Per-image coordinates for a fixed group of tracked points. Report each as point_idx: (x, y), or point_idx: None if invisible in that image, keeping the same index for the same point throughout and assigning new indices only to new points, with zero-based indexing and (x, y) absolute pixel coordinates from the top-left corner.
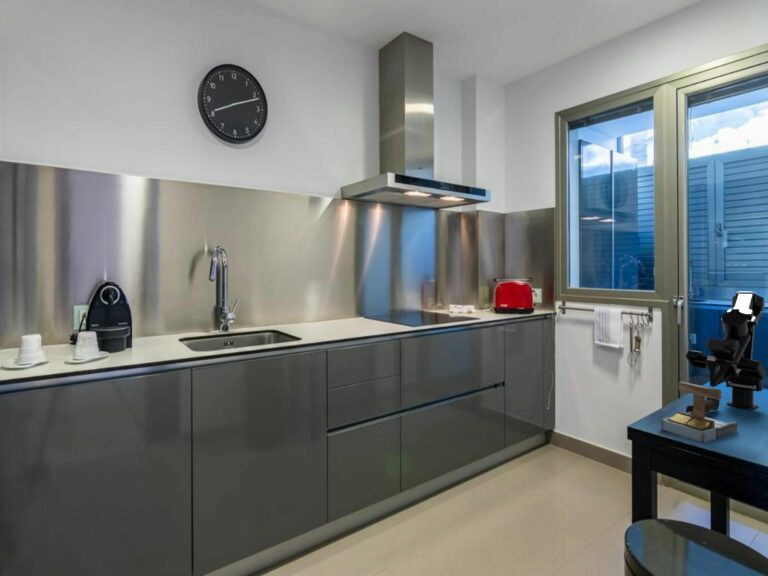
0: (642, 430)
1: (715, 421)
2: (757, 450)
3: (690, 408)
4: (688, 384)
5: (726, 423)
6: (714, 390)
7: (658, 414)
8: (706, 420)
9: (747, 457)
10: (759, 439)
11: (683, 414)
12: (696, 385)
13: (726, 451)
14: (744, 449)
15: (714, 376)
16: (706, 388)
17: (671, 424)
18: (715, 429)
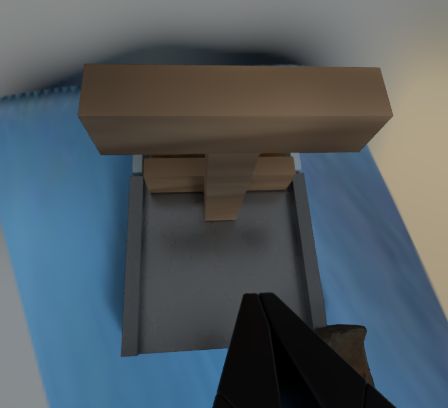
0: (296, 66)
1: (209, 319)
2: (10, 211)
3: (342, 325)
4: (308, 69)
5: (168, 339)
6: (106, 64)
7: (414, 266)
8: (168, 158)
9: (13, 122)
10: (42, 353)
11: (266, 158)
12: (262, 90)
13: (72, 116)
14: (42, 181)
15: (299, 393)
16: (169, 68)
17: None
18: (133, 167)
